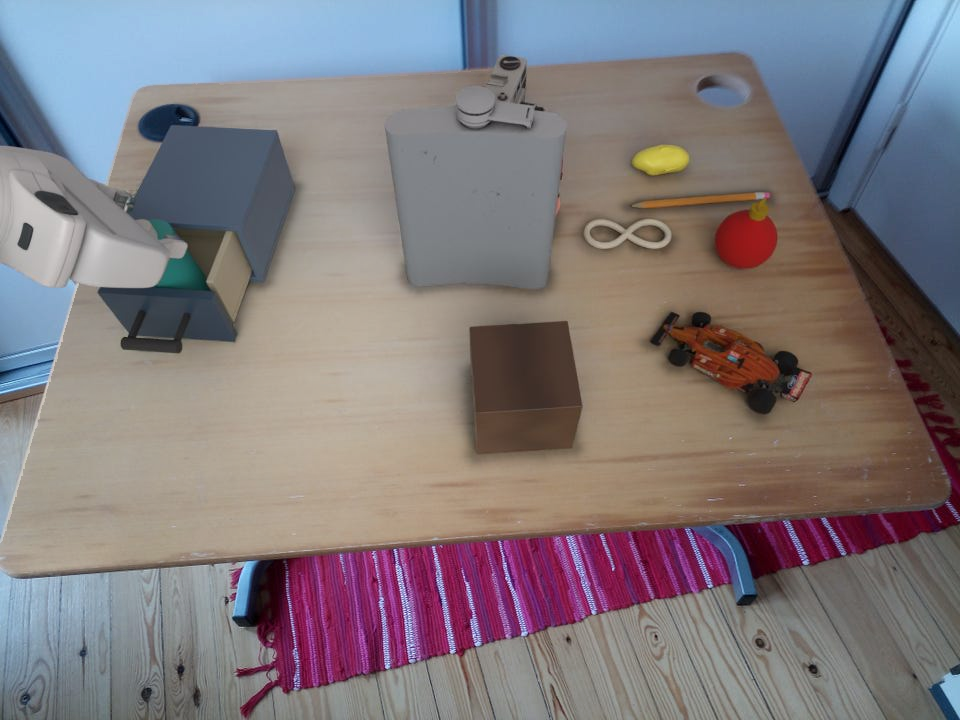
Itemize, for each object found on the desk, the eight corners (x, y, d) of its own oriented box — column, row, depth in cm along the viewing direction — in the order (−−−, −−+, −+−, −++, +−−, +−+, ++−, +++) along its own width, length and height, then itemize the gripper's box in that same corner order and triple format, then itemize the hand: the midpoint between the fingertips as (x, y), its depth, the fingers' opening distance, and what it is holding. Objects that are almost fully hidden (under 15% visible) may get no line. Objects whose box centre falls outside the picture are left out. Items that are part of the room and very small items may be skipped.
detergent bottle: (179, 329, 76) (122, 260, 66) (155, 302, 78) (97, 232, 69) (224, 297, 77) (175, 226, 68) (199, 272, 80) (148, 200, 71)
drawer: (222, 378, 74) (197, 338, 67) (113, 371, 74) (77, 330, 68) (269, 242, 85) (251, 195, 78) (174, 236, 85) (148, 190, 79)
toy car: (675, 307, 80) (684, 284, 76) (807, 377, 74) (824, 355, 71) (643, 351, 77) (650, 328, 73) (779, 427, 71) (795, 407, 67)
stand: (476, 454, 70) (476, 413, 62) (470, 373, 75) (469, 326, 67) (572, 448, 70) (582, 406, 62) (559, 367, 75) (567, 320, 68)
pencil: (766, 193, 90) (628, 203, 89) (770, 190, 89) (630, 201, 88) (767, 199, 90) (629, 210, 89) (771, 197, 89) (631, 208, 88)
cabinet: (264, 282, 82) (240, 226, 74) (156, 275, 83) (121, 220, 75) (295, 188, 91) (277, 130, 83) (198, 183, 92) (171, 124, 84)
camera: (522, 184, 91) (523, 121, 83) (462, 168, 94) (457, 106, 85) (557, 124, 98) (561, 61, 90) (500, 111, 101) (499, 48, 92)
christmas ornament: (727, 229, 87) (753, 169, 78) (776, 258, 84) (808, 199, 76) (696, 259, 84) (720, 200, 76) (745, 290, 81) (775, 232, 73)
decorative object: (581, 222, 87) (585, 251, 84) (582, 216, 86) (586, 245, 84) (666, 222, 88) (673, 250, 85) (668, 216, 87) (675, 245, 84)
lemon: (689, 179, 92) (697, 157, 89) (631, 181, 92) (637, 158, 89) (683, 159, 94) (690, 136, 91) (626, 160, 94) (632, 138, 91)
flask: (547, 261, 84) (568, 84, 63) (547, 290, 81) (569, 115, 61) (409, 258, 84) (384, 80, 63) (405, 286, 82) (379, 111, 61)
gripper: (-56, 180, 61) (93, 203, 73) (55, 299, 54) (201, 302, 66) (-40, 115, 59) (111, 150, 71) (78, 229, 52) (224, 246, 64)
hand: (155, 224), depth 68 cm, fingers open, 8 cm apart
